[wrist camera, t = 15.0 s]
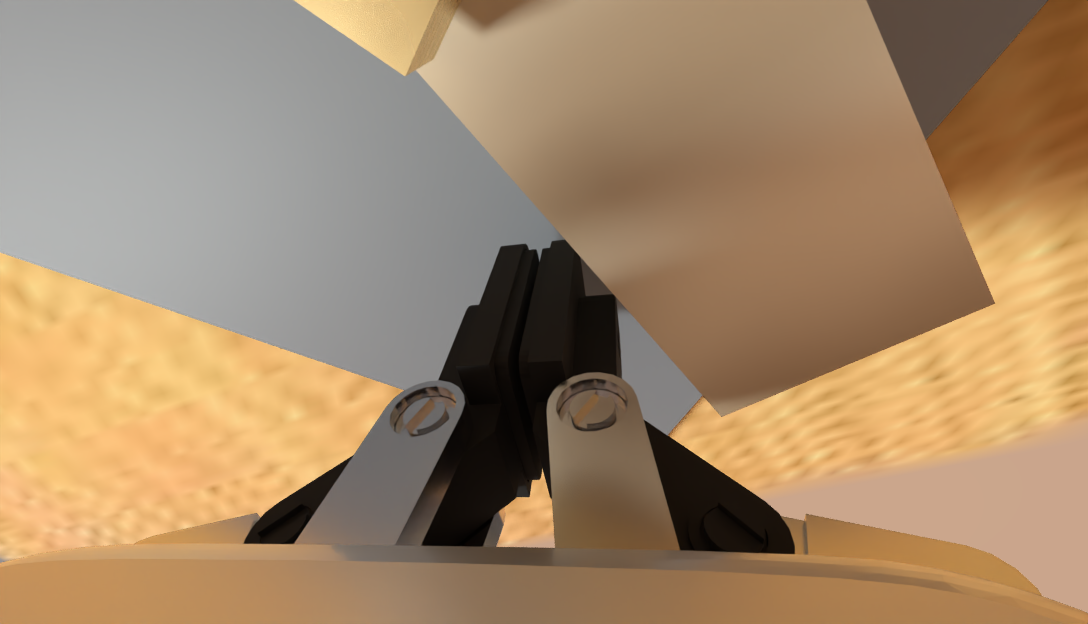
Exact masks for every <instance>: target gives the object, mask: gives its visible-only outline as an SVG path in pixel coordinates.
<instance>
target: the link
mask: <svg viewBox="0 0 1088 624" xmlns="http://www.w3.org/2000/svg"><path fill="white" fill-rule="evenodd" d="M416 71H417V72H418V73H419V74H420V75H421V77H422V78H423V79H424V80H425V81H426V82H427V83H428V85H429V86H430V87H431V88H432V89H433V90H434V91H435V92H436V94H437V95H438V96H439V97H440V98H441V99H442V100H443V102H444V103H445V104H446V105H447V106H448V107H449V108H450V109H451V111H452V112H453V113H454V114H455V115H456V116H457V117H458V119H459V120H460V121H461V122H462V123H463V124H464V125H465V127H466V128H467V129H468V130H469V131H470V132H471V133H472V134H473V136H474V137H475V138H476V139H477V140H478V141H479V142H480V144H481V145H482V146H483V147H484V148H485V149H486V150H487V151H488V153H489V154H490V155H491V156H492V157H493V158H494V159H495V161H496V162H497V163H498V164H499V165H500V166H501V167H502V168H503V170H504V171H505V172H506V173H507V174H508V175H509V176H510V178H511V179H512V180H513V181H514V182H515V183H516V184H517V185H518V187H519V188H520V189H521V190H522V191H523V192H524V193H525V195H526V196H527V197H528V198H529V199H530V200H531V201H532V202H533V204H534V205H535V206H536V207H537V208H538V209H539V210H540V212H541V213H542V214H543V215H544V216H545V217H546V218H547V219H548V221H549V222H550V223H551V224H552V225H553V226H554V227H555V229H556V230H557V231H558V232H559V233H560V234H561V235H562V237H563V238H564V239H565V240H566V241H567V242H568V243H569V244H570V246H571V247H572V248H573V249H574V250H575V251H576V252H577V254H578V255H579V256H580V257H581V258H582V259H583V260H584V261H585V263H586V264H587V265H588V266H589V267H590V268H591V269H592V271H593V272H594V273H595V274H596V275H597V276H598V277H599V278H600V280H601V281H602V282H603V283H604V284H605V285H606V286H607V288H608V289H609V290H610V291H611V292H612V293H613V294H614V295H615V297H616V298H617V299H618V300H619V301H620V302H621V303H622V305H623V306H624V307H625V308H626V309H627V310H628V311H629V312H630V314H631V315H632V316H633V317H634V318H635V319H636V320H637V322H638V323H639V324H640V325H641V326H642V327H643V328H644V329H645V331H646V332H647V333H648V334H649V335H650V336H651V337H652V339H653V340H654V341H655V342H656V343H657V344H658V345H659V347H660V348H661V349H662V350H663V351H664V352H665V353H666V354H667V356H668V357H669V358H670V359H671V360H672V361H673V362H674V364H675V365H676V366H677V367H678V368H679V369H680V370H681V371H682V373H683V374H684V375H685V376H686V377H687V378H688V379H689V381H690V382H691V383H692V384H693V385H694V386H695V387H696V388H697V390H698V391H699V392H700V393H701V394H702V395H703V396H704V398H705V399H706V400H707V401H708V402H709V403H710V404H711V405H712V407H713V408H714V409H715V410H716V411H717V412H718V413H719V415H720V416H721V417H723V416H725V415H727V414H730V413H732V412H735V411H737V410H739V409H742V408H744V407H747V406H749V405H751V404H754V403H756V402H759V401H761V400H764V399H766V398H768V397H771V396H773V395H776V394H778V393H780V392H783V391H785V390H788V389H790V388H792V387H795V386H797V385H800V384H802V383H805V382H807V381H809V380H812V379H814V378H817V377H819V376H821V375H824V374H826V373H829V372H831V371H833V370H836V369H838V368H841V367H843V366H846V365H848V364H850V363H853V362H855V361H858V360H860V359H862V358H865V357H867V356H870V355H872V354H874V353H877V352H879V351H882V350H884V349H887V348H889V347H891V346H894V345H896V344H899V343H901V342H903V341H906V340H908V339H911V338H913V337H915V336H918V335H920V334H923V333H925V332H928V331H930V330H932V329H935V328H937V327H940V326H942V325H944V324H947V323H949V322H952V321H954V320H956V319H959V318H961V317H964V316H966V315H969V314H971V313H973V312H976V311H978V310H981V309H983V308H985V307H988V306H990V305H993V304H995V302H994V300H993V298H992V295H991V293H990V291H989V288H988V286H987V284H986V281H985V279H984V277H983V274H982V272H981V269H980V267H979V265H978V262H977V260H976V258H975V255H974V253H973V251H972V248H971V246H970V243H969V241H968V239H967V236H966V234H965V232H964V229H963V227H962V225H961V222H960V220H959V218H958V215H957V213H956V210H955V208H954V206H953V203H952V201H951V199H950V196H949V194H948V192H947V189H946V187H945V185H944V182H943V180H942V177H941V175H940V173H939V170H938V168H937V166H936V163H935V161H934V159H933V156H932V154H931V152H930V149H929V147H928V144H927V142H926V140H925V137H924V135H923V133H922V130H921V128H920V126H919V123H918V121H917V119H916V116H915V114H914V111H913V109H912V107H911V104H910V102H909V100H908V97H907V95H906V93H905V90H904V88H903V86H902V83H901V81H900V78H899V76H898V74H897V71H896V69H895V67H894V64H893V62H892V60H891V57H890V55H889V53H888V50H887V48H886V45H885V43H884V41H883V38H882V36H881V34H880V31H879V29H878V27H877V24H876V22H875V20H874V17H873V15H872V12H871V10H870V8H869V5H868V3H867V1H866V0H461V2H460V4H459V6H458V8H457V10H456V13H455V15H454V17H453V19H452V21H451V23H450V26H449V28H448V30H447V32H446V34H445V36H444V39H443V41H442V43H441V45H440V47H439V49H438V52H437V54H436V56H435V58H434V59H433V60H432V61H430V62H428V63H427V64H425V65H423V66H422V67H420V68H418V69H417V70H416Z"/></svg>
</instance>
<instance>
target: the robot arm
mask: <svg viewBox="0 0 1088 624" xmlns="http://www.w3.org/2000/svg"><path fill="white" fill-rule="evenodd" d="M542 468H543V472H544V476H545V479H546V483H547V487H548V491H549V495H550V498H551V499H552V506H553V522H554V538H555V548H528V547H496V546H497V543H498V540H499V537H500V534H501V531H502V528H503V525H504V520H505V509H504V507H505V506H506V505H508V504H509V503H510V502H511V501H513V500H514V499H515V498H516V497H530V490H531V483H532V480H539V479H540V478H541V474H542ZM0 624H1088V613H1087V612H1084V611H1082V610H1079V609H1076V608H1074V607H1071V606H1068V605H1065V604H1063V603H1060V602H1057V601H1054V600H1051V599H1049V598H1046V597H1043V596H1042V595H1041V593H1040V592H1039V590H1038V589H1037V588H1036V587H1035V586H1034V585H1033V584H1032V583H1031V582H1030V581H1029V580H1028V579H1027V578H1026V577H1024V576H1023V575H1022V574H1021V573H1020V572H1019V571H1018V570H1017V569H1016V568H1014V567H1012V566H1011V565H1009V564H1007V563H1006V562H1004V561H1002V560H1001V559H999V558H997V557H996V556H994V555H992V554H990V553H987V552H984V551H981V550H978V549H975V548H972V547H969V546H966V545H961V544H956V543H950V542H946V541H940V540H936V539H930V538H925V537H920V536H915V535H910V534H905V533H900V532H895V531H890V530H885V529H880V528H875V527H870V526H865V525H860V524H855V523H850V522H844V521H839V520H834V519H829V518H824V517H819V516H814V515H809V514H806V516H805V519H804V521H802V520H797V519H792V518H787V517H782V516H780V514H779V513H778V512H777V511H775V510H774V509H773V508H772V507H771V506H770V505H768V504H767V503H766V502H765V501H764V500H762V499H761V498H759V497H758V496H756V495H755V494H753V493H752V492H750V491H749V490H747V489H746V488H745V487H743V486H742V485H740V484H739V483H737V482H736V481H734V480H733V479H731V478H730V477H728V476H727V475H725V474H724V473H722V472H721V471H719V470H718V469H716V468H715V467H713V466H712V465H710V464H709V463H708V462H706V461H705V460H703V459H702V458H700V457H699V456H697V455H696V454H694V453H693V452H691V451H690V450H688V449H687V448H685V447H684V446H682V445H681V444H679V443H678V442H676V441H675V440H673V439H672V438H670V437H669V436H668V435H666V434H665V433H663V432H662V431H660V430H659V429H657V428H656V427H654V426H653V425H651V424H650V423H648V422H647V421H645V420H644V419H643V416H642V412H641V409H640V405H639V402H638V398H637V395H636V394H635V392H634V390H633V388H632V387H631V386H630V385H629V384H628V383H627V382H626V381H625V380H623V379H622V365H621V345H620V332H619V321H618V311H617V301H616V297H615V295H614V294H606V295H594V296H586V294H585V287H584V279H583V272H582V265H581V258H580V256H579V255H578V254H577V252H576V251H575V250H574V249H573V248H572V247H571V246H570V244H569V243H568V242H567V241H566V240H557V241H552V242H551V246H550V248H543V249H542V253H541V257H540V262H539V256H538V252H537V250H536V249H532V250H529V248H528V246H527V244H517V245H507V246H501V247H500V249H499V252H498V255H497V258H496V260H495V263H494V266H493V268H492V271H491V274H490V276H489V279H488V282H487V284H486V287H485V290H484V293H483V295H482V298H481V301H480V303H479V305H471V306H469V307H468V308H467V310H466V312H465V315H464V317H463V320H462V322H461V324H460V327H459V329H458V332H457V334H456V337H455V339H454V342H453V344H452V347H451V349H450V352H449V354H448V357H447V359H446V362H445V364H444V367H443V369H442V372H441V374H440V377H439V379H438V381H427V382H423V383H420V384H416V385H414V386H412V387H410V388H408V389H406V390H404V391H403V392H401V393H400V394H399V395H397V396H396V397H395V398H394V399H393V400H392V401H391V402H390V403H389V404H388V406H387V407H386V408H385V410H384V411H383V413H382V414H381V416H380V417H379V419H378V420H377V421H376V423H375V424H374V426H373V427H372V429H371V430H370V432H369V433H368V435H367V436H366V438H365V439H364V441H363V442H362V444H361V445H360V447H359V448H358V450H357V451H356V453H355V454H354V455H353V456H352V457H350V458H348V459H347V460H345V461H344V462H342V463H341V464H339V465H337V466H336V467H334V468H333V469H331V470H329V471H328V472H326V473H325V474H323V475H322V476H320V477H318V478H317V479H315V480H314V481H312V482H310V483H309V484H307V485H306V486H304V487H303V488H301V489H299V490H298V491H296V492H295V493H293V494H291V495H290V496H288V497H287V498H285V499H284V500H282V501H280V502H279V503H277V504H276V505H275V506H274V507H272V508H271V509H270V510H268V511H267V512H266V513H265V514H264V515H263V516H262V517H261V518H260V517H259V515H258V514H257V513H255V514H250V515H246V516H241V517H237V518H232V519H228V520H223V521H219V522H214V523H210V524H205V525H201V526H196V527H192V528H187V529H183V530H178V531H174V532H169V533H165V534H160V535H156V536H152V537H149V538H146V539H144V540H141V541H138V542H137V543H135V544H124V545H108V546H93V547H81V548H74V549H67V550H60V551H53V552H46V553H40V554H36V555H31V556H27V557H23V558H19V559H14V560H10V561H6V562H2V563H0Z"/></svg>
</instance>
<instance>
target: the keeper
mask: <svg viewBox="0 0 1088 624" xmlns="http://www.w3.org/2000/svg"><path fill="white" fill-rule="evenodd" d="M294 1H295V2H297V3H298V4H300V5H301V6H303V7H304V8H306V9H307V10H309V11H310V12H312V13H313V14H314V15H316V16H317V17H319V18H320V19H322V20H323V21H325V22H326V23H328V24H329V25H331V26H332V27H333V28H335V29H336V30H338V31H339V32H341V33H342V34H344V35H345V36H347V37H348V38H350V39H351V40H352V41H354V42H355V43H357V44H358V45H360V46H361V47H363V48H364V49H366V50H367V51H369V52H370V53H371V54H373V55H374V56H376V57H377V58H379V59H380V60H382V61H383V62H385V63H386V64H388V65H389V66H390V67H392V68H393V69H395V70H396V71H398V72H399V73H401V74H402V75H404V76H407V75H408V74H410V73H412V72H413V71H415V70H417V69H418V68H420V67H422V66H423V65H425V64H427V63H428V62H430V61H432V60H433V59H434V58H435V56H436V54H437V52H438V49H439V47H440V45H441V43H442V41H443V39H444V36H445V34H446V32H447V30H448V28H449V26H450V23H451V21H452V19H453V17H454V15H455V13H456V10H457V8H458V6H459V4H460V2H461V0H294Z"/></svg>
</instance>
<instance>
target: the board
mask: <svg viewBox="0 0 1088 624" xmlns="http://www.w3.org/2000/svg"><path fill="white" fill-rule="evenodd" d="M866 1H867V3H868V5H869V8H870V10H871V12H872V15H873V17H874V20H875V22H876V24H877V27H878V29H879V31H880V34H881V36H882V38H883V41H884V43H885V45H886V48H887V50H888V53H889V55H890V57H891V60H892V62H893V64H894V67H895V69H896V71H897V74H898V76H899V78H900V81H901V83H902V86H903V88H904V90H905V93H906V95H907V97H908V100H909V102H910V104H911V107H912V109H913V111H914V114H915V116H916V119H917V121H918V123H919V126H920V128H921V130H922V133H923V135H924V137H925V140H926V139H927V138H928V137H929V136H930V135H931V134H932V132H933V131H934V130H935V129H936V128H937V127H938V126H939V124H940V123H941V122H942V121H943V120H944V119H945V118H946V116H947V115H948V114H949V113H950V112H951V111H952V110H953V108H954V107H955V106H956V105H957V104H958V103H959V102H960V100H961V99H962V98H963V97H964V96H965V95H966V94H967V92H968V91H969V90H970V89H971V88H972V87H973V86H974V84H975V83H976V82H977V81H978V80H979V79H980V78H981V76H982V75H983V74H984V73H985V72H986V71H987V70H988V68H989V67H990V66H991V65H992V64H993V63H994V62H995V60H996V59H997V58H998V57H999V56H1000V55H1001V54H1002V52H1003V51H1004V50H1005V49H1006V48H1007V47H1008V46H1009V44H1010V43H1011V42H1012V41H1013V40H1014V39H1015V38H1016V36H1017V35H1018V34H1019V33H1020V32H1021V31H1022V30H1023V28H1024V27H1025V26H1026V25H1027V24H1028V23H1029V22H1030V20H1031V19H1032V18H1033V17H1034V16H1035V15H1036V14H1037V12H1038V11H1039V10H1040V9H1041V8H1042V7H1043V6H1044V4H1045V3H1046V2H1047V1H1048V0H866ZM557 240H565V239H564V238H563V237H562V235H561V234H560V233H559V232H558V231H557V230H556V229H555V227H554V226H553V225H552V224H551V223H550V222H549V221H548V219H547V218H546V217H545V216H544V215H543V214H542V213H541V212H540V210H539V209H538V208H537V207H536V206H535V205H534V204H533V202H532V201H531V200H530V199H529V198H528V197H527V196H526V195H525V193H524V192H523V191H522V190H521V189H520V188H519V187H518V185H517V184H516V183H515V182H514V181H513V180H512V179H511V178H510V176H509V175H508V174H507V173H506V172H505V171H504V170H503V168H502V167H501V166H500V165H499V164H498V163H497V162H496V161H495V159H494V158H493V157H492V156H491V155H490V154H489V153H488V151H487V150H486V149H485V148H484V147H483V146H482V145H481V144H480V142H479V141H478V140H477V139H476V138H475V137H474V136H473V134H472V133H471V132H470V131H469V130H468V129H467V128H466V127H465V125H464V124H463V123H462V122H461V121H460V120H459V119H458V117H457V116H456V115H455V114H454V113H453V112H452V111H451V109H450V108H449V107H448V106H447V105H446V104H445V103H444V102H443V100H442V99H441V98H440V97H439V96H438V95H437V94H436V92H435V91H434V90H433V89H432V88H431V87H430V86H429V85H428V83H427V82H426V81H425V80H424V79H423V78H422V77H421V75H420V74H419V73H418V72H417V71H416V70H415V71H413V72H412V73H410V74H408V75H407V76H404V75H402V74H401V73H399V72H398V71H396V70H395V69H393V68H392V67H390V66H389V65H388V64H386V63H385V62H383V61H382V60H380V59H379V58H377V57H376V56H374V55H373V54H371V53H370V52H369V51H367V50H366V49H364V48H363V47H361V46H360V45H358V44H357V43H355V42H354V41H352V40H351V39H350V38H348V37H347V36H345V35H344V34H342V33H341V32H339V31H338V30H336V29H335V28H333V27H332V26H331V25H329V24H328V23H326V22H325V21H323V20H322V19H320V18H319V17H317V16H316V15H314V14H313V13H312V12H310V11H309V10H307V9H306V8H304V7H303V6H301V5H300V4H298V3H297V2H295V1H294V0H0V253H3V254H6V255H9V256H12V257H15V258H18V259H21V260H24V261H27V262H30V263H33V264H36V265H39V266H41V267H44V268H47V269H50V270H53V271H56V272H59V273H62V274H65V275H68V276H71V277H74V278H77V279H80V280H83V281H85V282H88V283H91V284H94V285H97V286H100V287H103V288H106V289H109V290H112V291H115V292H118V293H121V294H124V295H127V296H129V297H132V298H135V299H138V300H141V301H144V302H147V303H150V304H153V305H156V306H159V307H162V308H165V309H168V310H171V311H173V312H176V313H179V314H182V315H185V316H188V317H191V318H194V319H197V320H200V321H203V322H206V323H209V324H212V325H215V326H217V327H220V328H223V329H226V330H229V331H232V332H235V333H238V334H241V335H244V336H247V337H250V338H253V339H256V340H259V341H262V342H264V343H267V344H270V345H273V346H276V347H279V348H282V349H285V350H288V351H291V352H294V353H297V354H300V355H303V356H306V357H308V358H311V359H314V360H317V361H320V362H323V363H326V364H329V365H332V366H335V367H338V368H341V369H344V370H347V371H350V372H352V373H355V374H358V375H361V376H364V377H367V378H370V379H373V380H376V381H379V382H382V383H385V384H388V385H391V386H394V387H396V388H399V389H402V390H406V389H408V388H410V387H412V386H414V385H416V384H420V383H423V382H427V381H438V379H439V377H440V374H441V372H442V369H443V367H444V364H445V362H446V359H447V357H448V354H449V352H450V349H451V347H452V344H453V342H454V339H455V337H456V334H457V332H458V329H459V327H460V324H461V322H462V320H463V317H464V315H465V312H466V310H467V308H468V307H469V306H471V305H479V303H480V301H481V298H482V295H483V293H484V290H485V287H486V284H487V282H488V279H489V276H490V274H491V271H492V268H493V266H494V263H495V260H496V258H497V255H498V252H499V249H500V247H501V246H507V245H517V244H527V246H528V248H529V250H532V249H536V250H537V252H538V256H539V262H540V257H541V253H542V249H543V248H550V246H551V242H552V241H557ZM580 258H581V257H580ZM581 265H582V272H583V279H584V287H585V294H586V296H594V295H606V294H613V293H612V292H611V291H610V290H609V289H608V288H607V286H606V285H605V284H604V283H603V282H602V281H601V280H600V278H599V277H598V276H597V275H596V274H595V273H594V272H593V271H592V269H591V268H590V267H589V266H588V265H587V264H586V263H585V261H584V260H583V259H582V258H581ZM616 301H617V311H618V321H619V332H620V345H621V365H622V379H623V380H625V381H626V382H627V383H628V384H629V385H630V386H631V387H632V388H633V390H634V392H635V394H636V395H637V398H638V402H639V405H640V409H641V412H642V416H643V419H644V420H645V421H647V422H648V423H650V424H651V425H653V426H654V427H656V428H657V429H659V430H660V431H662V432H663V433H665V434H666V435H668V434H669V433H670V432H671V431H672V430H673V428H674V427H675V426H676V425H677V424H678V423H679V422H680V420H681V419H682V418H683V417H684V416H685V415H686V414H687V412H688V411H689V410H690V409H691V408H692V407H693V406H694V404H695V403H696V402H697V401H698V400H699V399H700V398H701V396H702V394H701V393H700V392H699V391H698V390H697V388H696V387H695V386H694V385H693V384H692V383H691V382H690V381H689V379H688V378H687V377H686V376H685V375H684V374H683V373H682V371H681V370H680V369H679V368H678V367H677V366H676V365H675V364H674V362H673V361H672V360H671V359H670V358H669V357H668V356H667V354H666V353H665V352H664V351H663V350H662V349H661V348H660V347H659V345H658V344H657V343H656V342H655V341H654V340H653V339H652V337H651V336H650V335H649V334H648V333H647V332H646V331H645V329H644V328H643V327H642V326H641V325H640V324H639V323H638V322H637V320H636V319H635V318H634V317H633V316H632V315H631V314H630V312H629V311H628V310H627V309H626V308H625V307H624V306H623V305H622V303H621V302H620V301H619V300H618V299H617V298H616Z"/></svg>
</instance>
